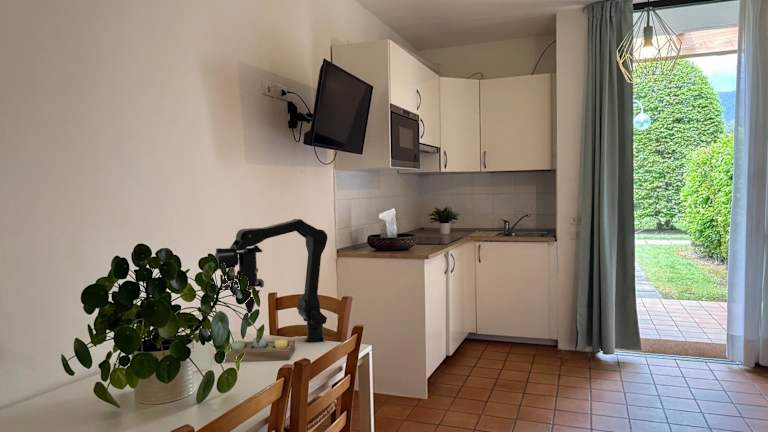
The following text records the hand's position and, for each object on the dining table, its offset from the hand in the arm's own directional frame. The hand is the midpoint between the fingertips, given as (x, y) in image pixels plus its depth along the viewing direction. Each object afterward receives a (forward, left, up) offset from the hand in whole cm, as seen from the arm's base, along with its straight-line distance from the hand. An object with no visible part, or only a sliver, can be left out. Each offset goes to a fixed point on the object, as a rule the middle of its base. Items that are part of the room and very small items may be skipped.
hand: (249, 312), depth 179 cm
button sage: (+5, -3, -12) cm, 14 cm away
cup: (+15, -13, -13) cm, 24 cm away
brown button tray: (+5, +4, -13) cm, 14 cm away
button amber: (+5, +11, -13) cm, 17 cm away
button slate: (+5, +4, -11) cm, 13 cm away
